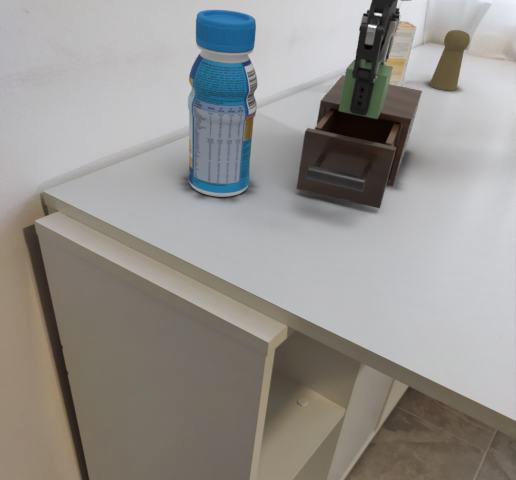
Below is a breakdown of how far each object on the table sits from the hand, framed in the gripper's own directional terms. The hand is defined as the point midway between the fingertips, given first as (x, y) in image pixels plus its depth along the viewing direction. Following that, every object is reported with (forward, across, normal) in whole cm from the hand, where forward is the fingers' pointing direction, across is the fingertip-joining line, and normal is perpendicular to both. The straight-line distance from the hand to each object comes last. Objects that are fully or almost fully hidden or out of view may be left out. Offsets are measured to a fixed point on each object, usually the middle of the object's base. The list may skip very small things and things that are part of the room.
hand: (362, 106), depth 69 cm
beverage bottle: (+11, +8, -16) cm, 21 cm away
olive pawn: (+11, -64, +9) cm, 65 cm away
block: (0, 0, 0) cm, 0 cm away
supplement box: (+11, -48, -3) cm, 49 cm away
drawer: (+10, +2, 0) cm, 10 cm away
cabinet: (+11, -11, 0) cm, 16 cm away
